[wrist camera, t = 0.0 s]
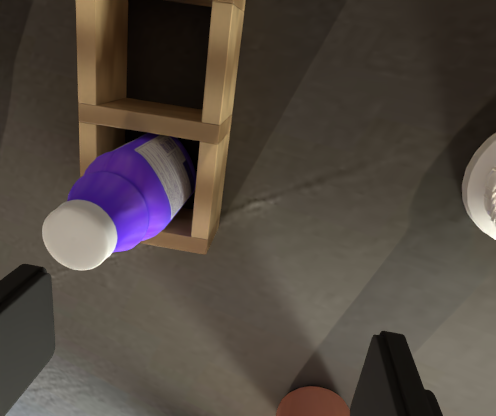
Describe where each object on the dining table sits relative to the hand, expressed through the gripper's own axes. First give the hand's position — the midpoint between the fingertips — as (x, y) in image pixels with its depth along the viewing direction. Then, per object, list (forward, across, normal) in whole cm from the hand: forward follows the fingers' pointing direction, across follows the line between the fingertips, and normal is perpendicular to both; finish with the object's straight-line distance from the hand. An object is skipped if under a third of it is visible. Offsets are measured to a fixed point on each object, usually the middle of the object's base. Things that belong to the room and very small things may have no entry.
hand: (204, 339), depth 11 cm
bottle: (+28, +10, +4) cm, 30 cm away
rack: (+28, +10, -1) cm, 29 cm away
